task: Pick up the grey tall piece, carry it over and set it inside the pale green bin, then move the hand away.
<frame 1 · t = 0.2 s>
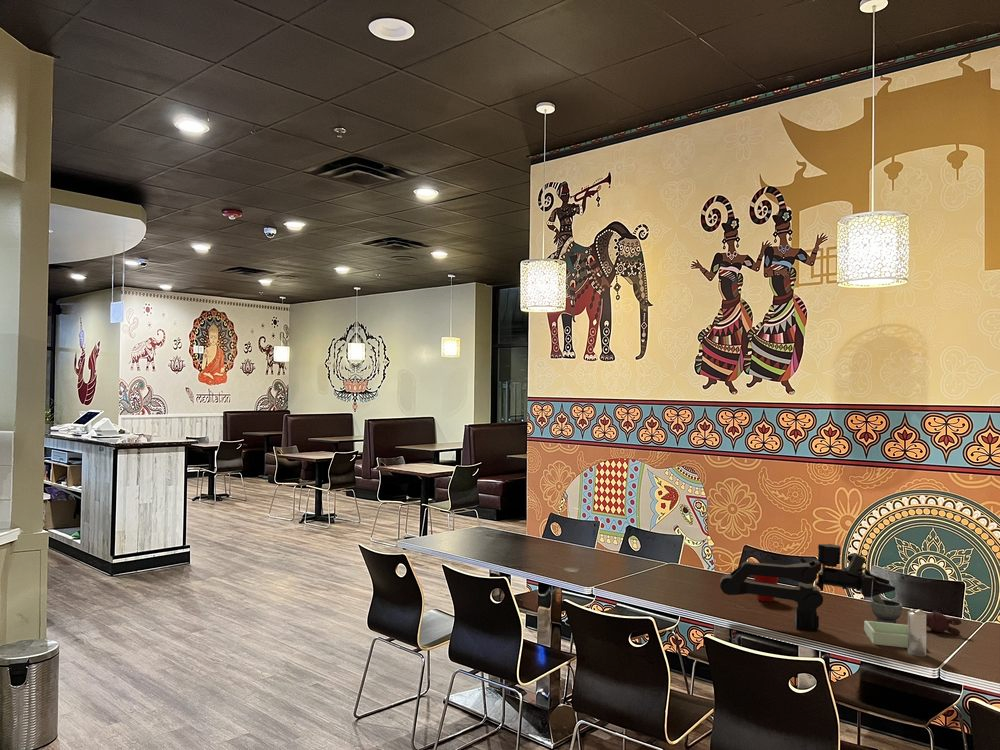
hand: (892, 585, 232), 17 cm above the table, tool horizontal, fingers open, 9 cm apart
pale green bin: (892, 640, 230), on the table
mortar and pestle: (884, 623, 249), on the table
icecream: (934, 632, 241), on the table
plastic cup: (766, 600, 275), on the table
grey tall piece: (916, 653, 217), on the table
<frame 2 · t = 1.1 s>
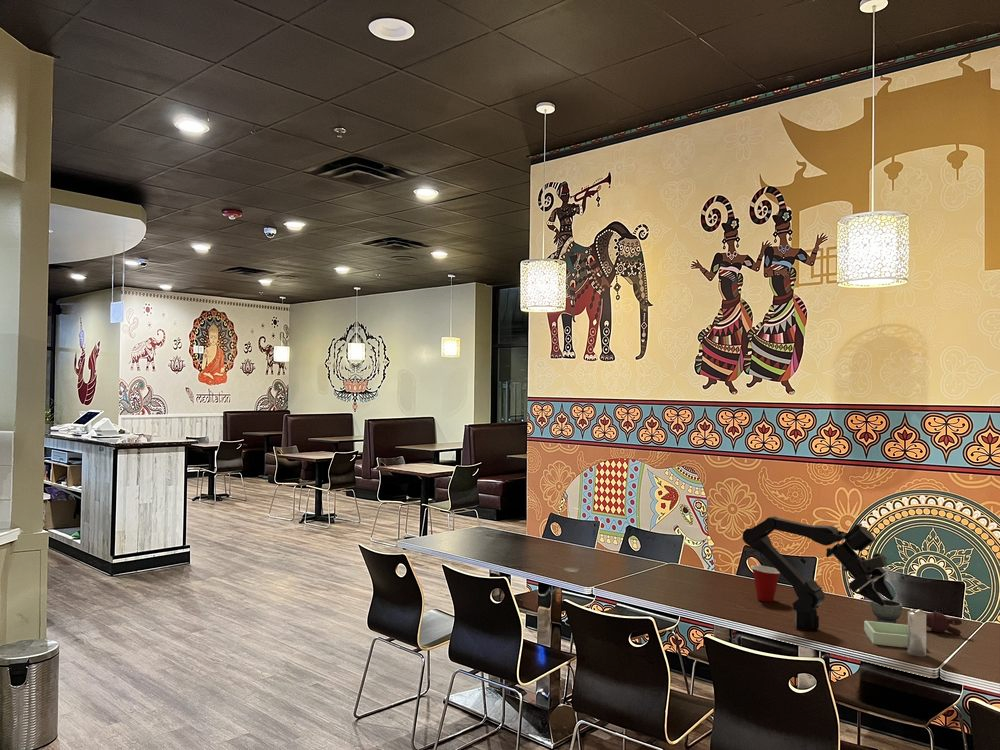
hand: (888, 602, 223), 14 cm above the table, tool tilted 45°, fingers open, 9 cm apart
nothing on the table moved.
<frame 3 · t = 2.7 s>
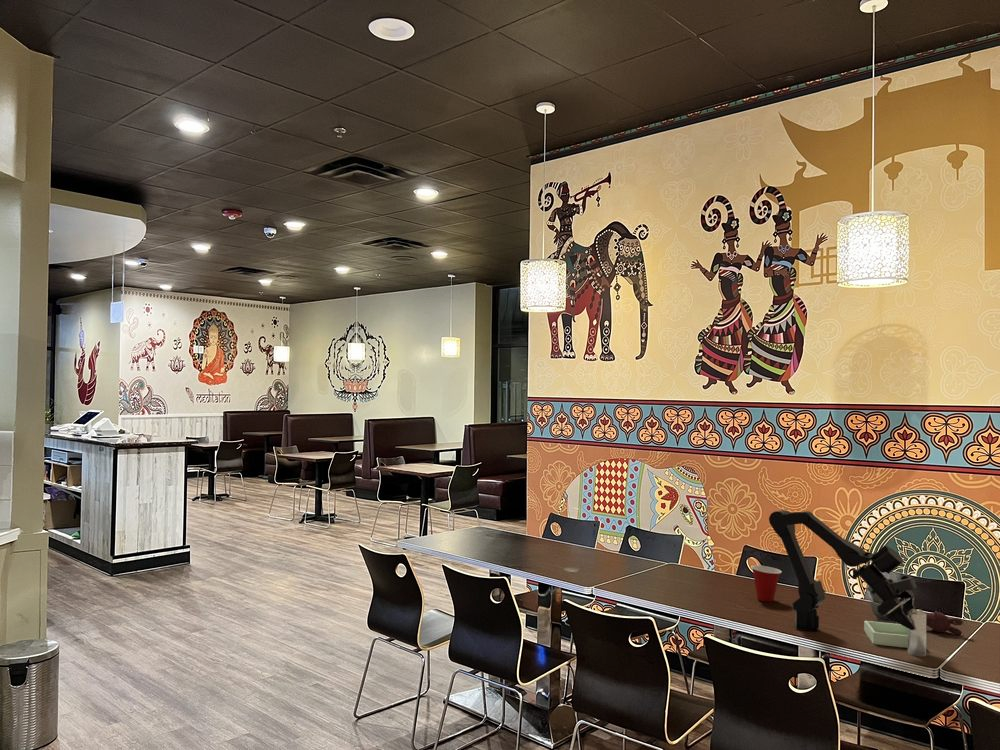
hand: (917, 626, 217), 8 cm above the table, tool tilted 45°, fingers open, 9 cm apart
nothing on the table moved.
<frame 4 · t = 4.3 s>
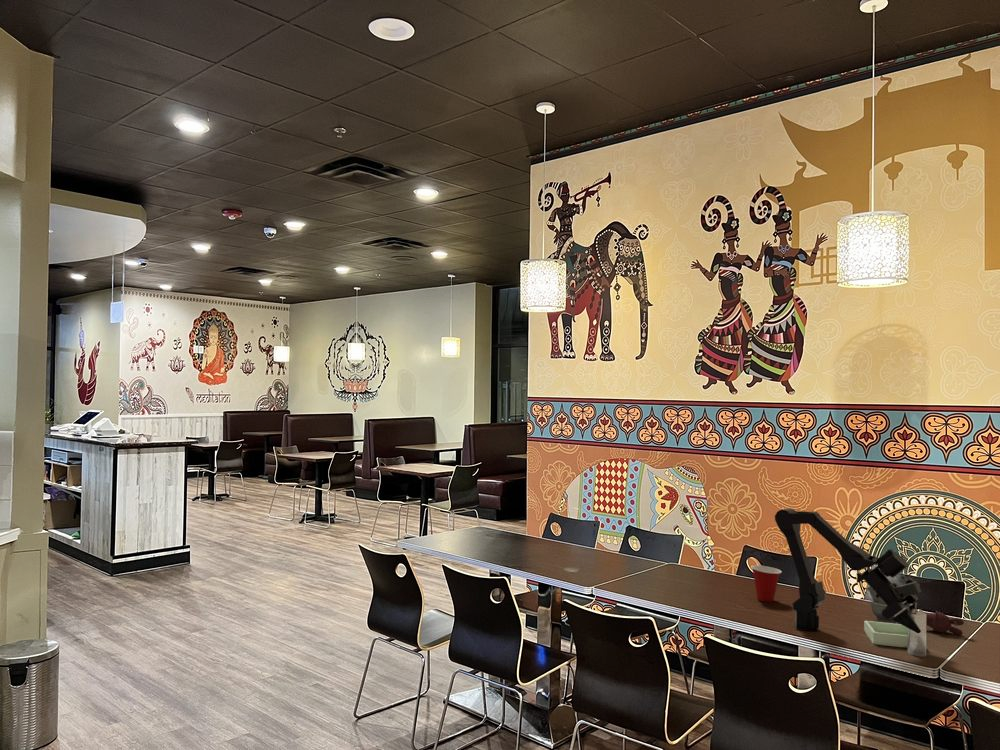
hand: (922, 630, 217), 7 cm above the table, tool tilted 45°, fingers closed on grey tall piece, 5 cm apart
grey tall piece: (916, 653, 217), on the table, touching gripper
everything else where it was.
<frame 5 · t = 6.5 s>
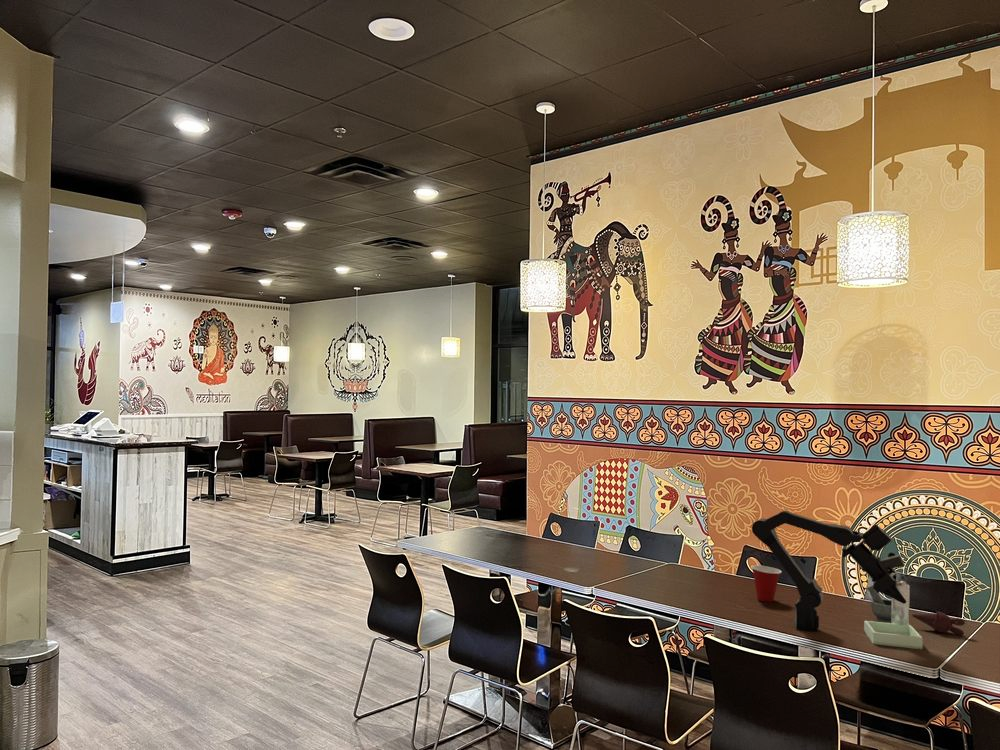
hand: (905, 601, 226), 13 cm above the table, tool tilted 45°, fingers closed on grey tall piece, 5 cm apart
grey tall piece: (899, 623, 227), point 6 cm above the table, touching gripper
when the fingers open (9 cm above the table, at t = 8.7 s): grey tall piece drops 1 cm, resting on pale green bin.
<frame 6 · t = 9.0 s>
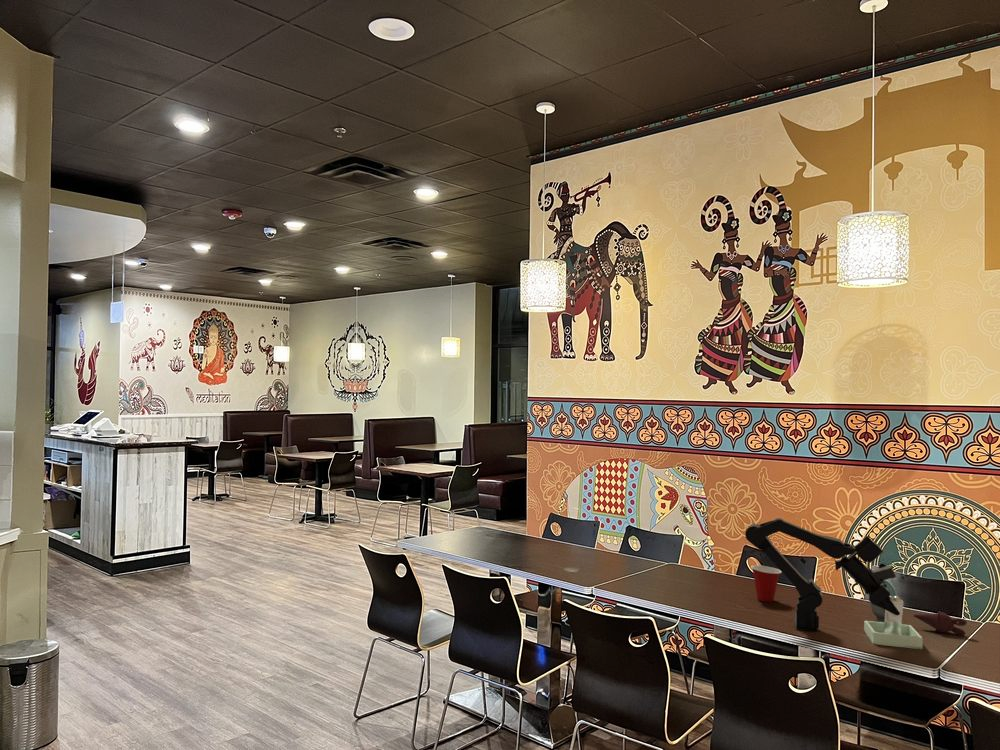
hand: (897, 611, 230), 9 cm above the table, tool tilted 45°, fingers open, 8 cm apart
grey tall piece: (891, 637, 230), point 1 cm above the table, touching pale green bin
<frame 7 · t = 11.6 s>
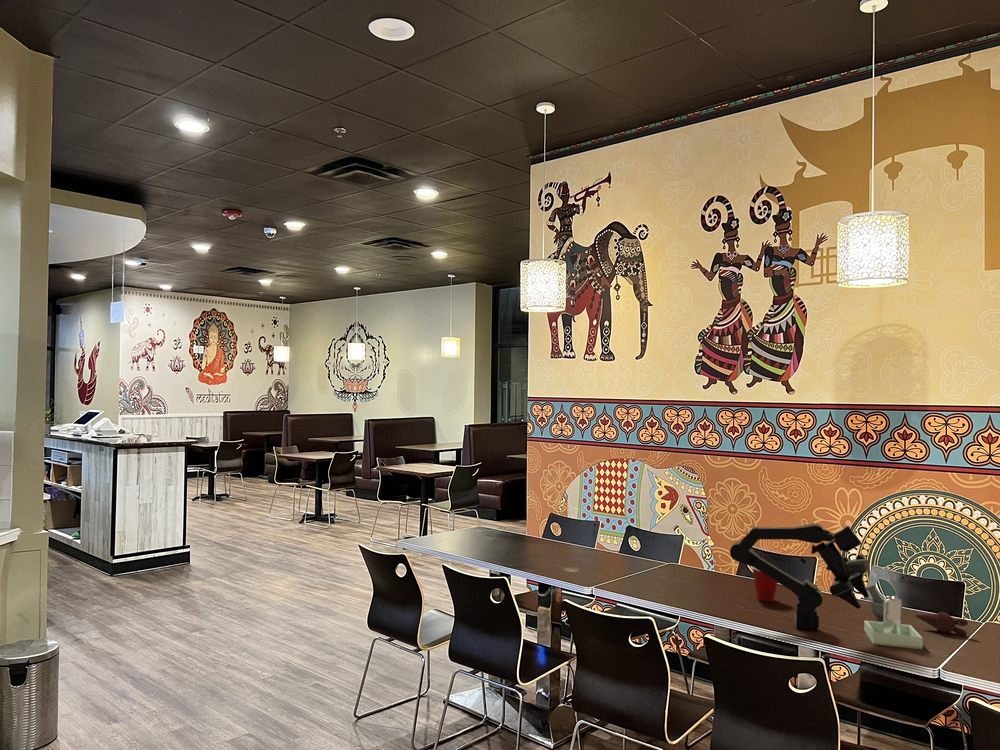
hand: (863, 602, 233), 11 cm above the table, tool tilted 35°, fingers open, 9 cm apart
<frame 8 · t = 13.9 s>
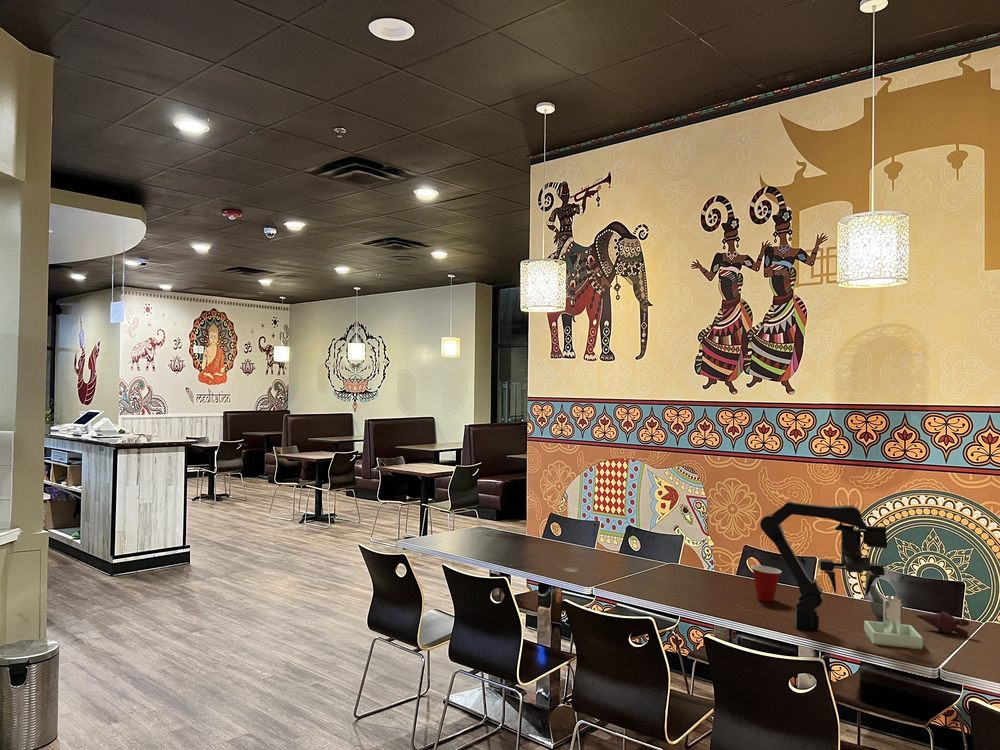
hand: (850, 593, 235), 13 cm above the table, tool pointing down, fingers open, 9 cm apart
at the end: grey tall piece inside the target area on the pale green bin (0.1 cm from its centre), point 0.6 cm above the pale green bin's base; grey tall piece tilted 1°; the gripper is holding nothing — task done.
